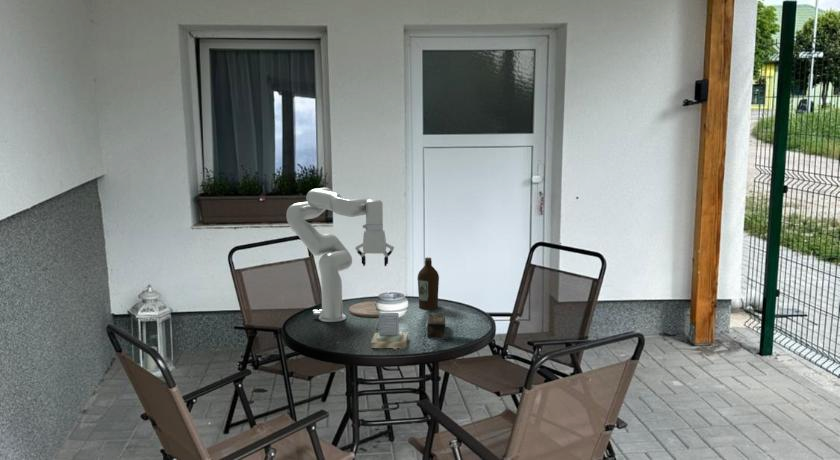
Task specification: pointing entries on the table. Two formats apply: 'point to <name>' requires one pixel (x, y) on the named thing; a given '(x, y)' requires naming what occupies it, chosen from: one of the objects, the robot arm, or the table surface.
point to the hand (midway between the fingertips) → (374, 265)
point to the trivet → (364, 309)
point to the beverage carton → (436, 325)
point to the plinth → (390, 341)
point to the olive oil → (428, 286)
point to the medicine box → (389, 324)
